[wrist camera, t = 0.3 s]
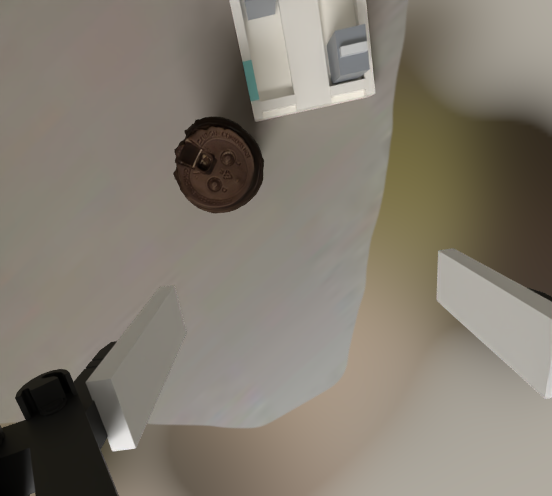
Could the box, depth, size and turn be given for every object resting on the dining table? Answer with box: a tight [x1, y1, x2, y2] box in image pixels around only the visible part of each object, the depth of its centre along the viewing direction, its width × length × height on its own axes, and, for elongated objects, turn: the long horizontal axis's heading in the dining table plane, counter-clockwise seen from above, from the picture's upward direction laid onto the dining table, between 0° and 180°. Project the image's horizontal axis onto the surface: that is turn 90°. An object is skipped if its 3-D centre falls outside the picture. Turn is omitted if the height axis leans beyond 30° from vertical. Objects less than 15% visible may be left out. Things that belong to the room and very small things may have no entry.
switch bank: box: [230, 0, 375, 122], centre depth 34 cm, size 20×14×3 cm
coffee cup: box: [173, 117, 264, 213], centre depth 34 cm, size 9×8×13 cm
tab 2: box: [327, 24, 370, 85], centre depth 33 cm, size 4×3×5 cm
